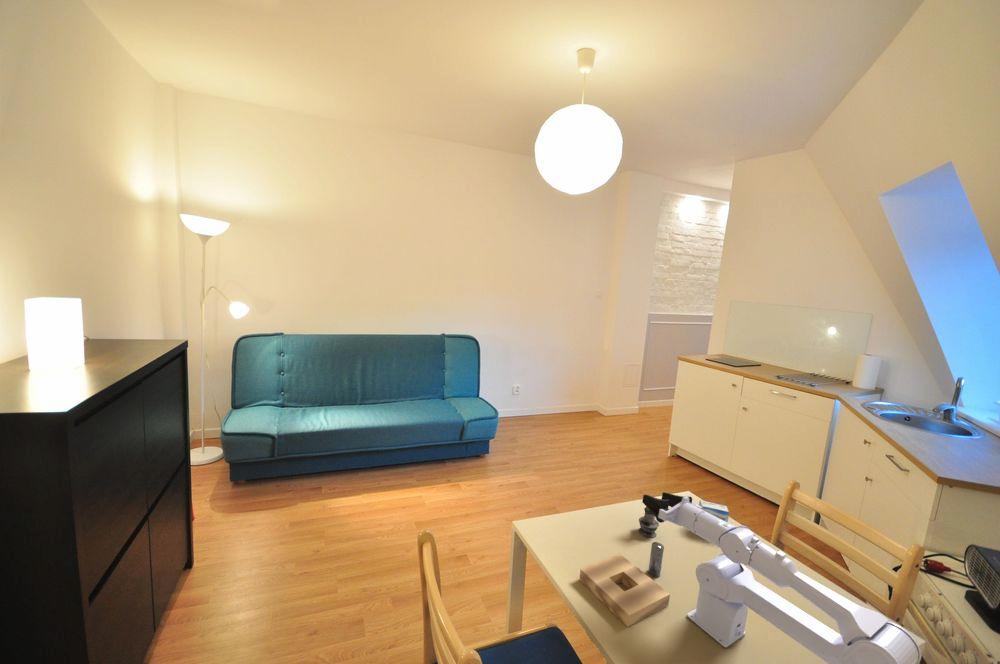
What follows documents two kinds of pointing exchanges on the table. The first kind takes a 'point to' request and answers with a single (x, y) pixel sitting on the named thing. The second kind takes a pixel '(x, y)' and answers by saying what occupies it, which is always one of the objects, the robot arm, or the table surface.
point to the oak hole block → (624, 604)
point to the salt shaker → (648, 524)
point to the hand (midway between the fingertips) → (653, 497)
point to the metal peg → (656, 559)
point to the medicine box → (715, 510)
